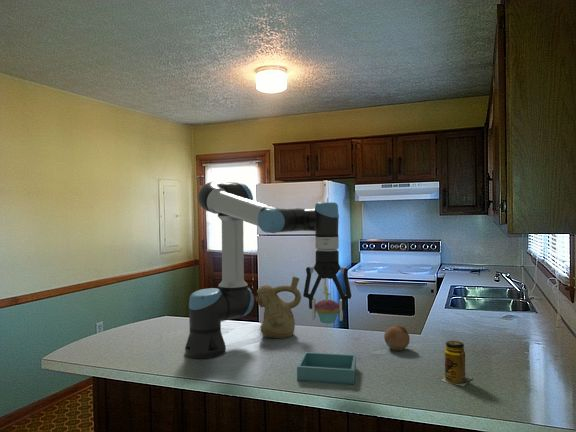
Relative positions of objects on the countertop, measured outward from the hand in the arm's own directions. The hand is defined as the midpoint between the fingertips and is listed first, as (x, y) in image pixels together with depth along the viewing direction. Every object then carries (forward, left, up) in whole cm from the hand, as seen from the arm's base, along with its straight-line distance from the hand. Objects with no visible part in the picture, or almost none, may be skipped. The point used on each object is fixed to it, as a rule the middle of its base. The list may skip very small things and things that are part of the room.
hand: (327, 319), depth 147 cm
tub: (0, 0, -18) cm, 18 cm away
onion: (+23, +31, -18) cm, 43 cm away
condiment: (+40, +3, -18) cm, 44 cm away
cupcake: (0, 0, -1) cm, 1 cm away
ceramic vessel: (-26, +42, -18) cm, 53 cm away
